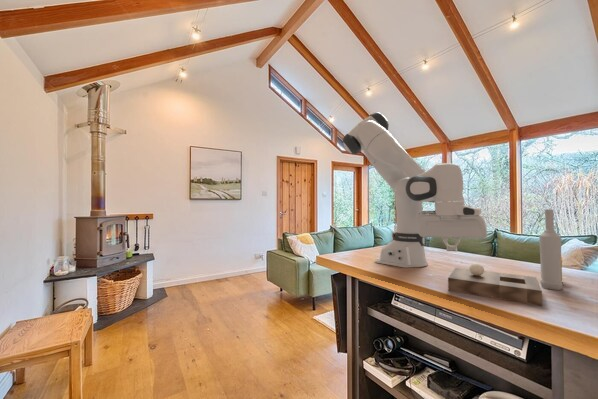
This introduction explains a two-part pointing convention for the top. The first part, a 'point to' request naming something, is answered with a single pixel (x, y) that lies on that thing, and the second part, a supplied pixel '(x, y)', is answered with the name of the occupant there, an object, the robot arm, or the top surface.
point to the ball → (476, 269)
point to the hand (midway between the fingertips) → (451, 251)
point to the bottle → (550, 254)
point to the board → (496, 286)
